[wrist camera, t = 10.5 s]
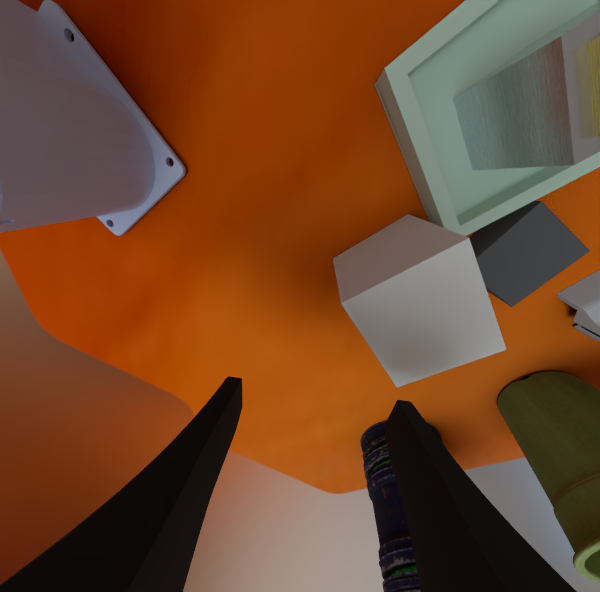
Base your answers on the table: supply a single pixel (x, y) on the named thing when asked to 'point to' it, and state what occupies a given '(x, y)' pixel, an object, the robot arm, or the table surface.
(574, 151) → the block
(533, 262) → the square block
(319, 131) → the table surface
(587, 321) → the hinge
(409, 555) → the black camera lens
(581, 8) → the tray
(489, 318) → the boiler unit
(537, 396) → the plant pot
